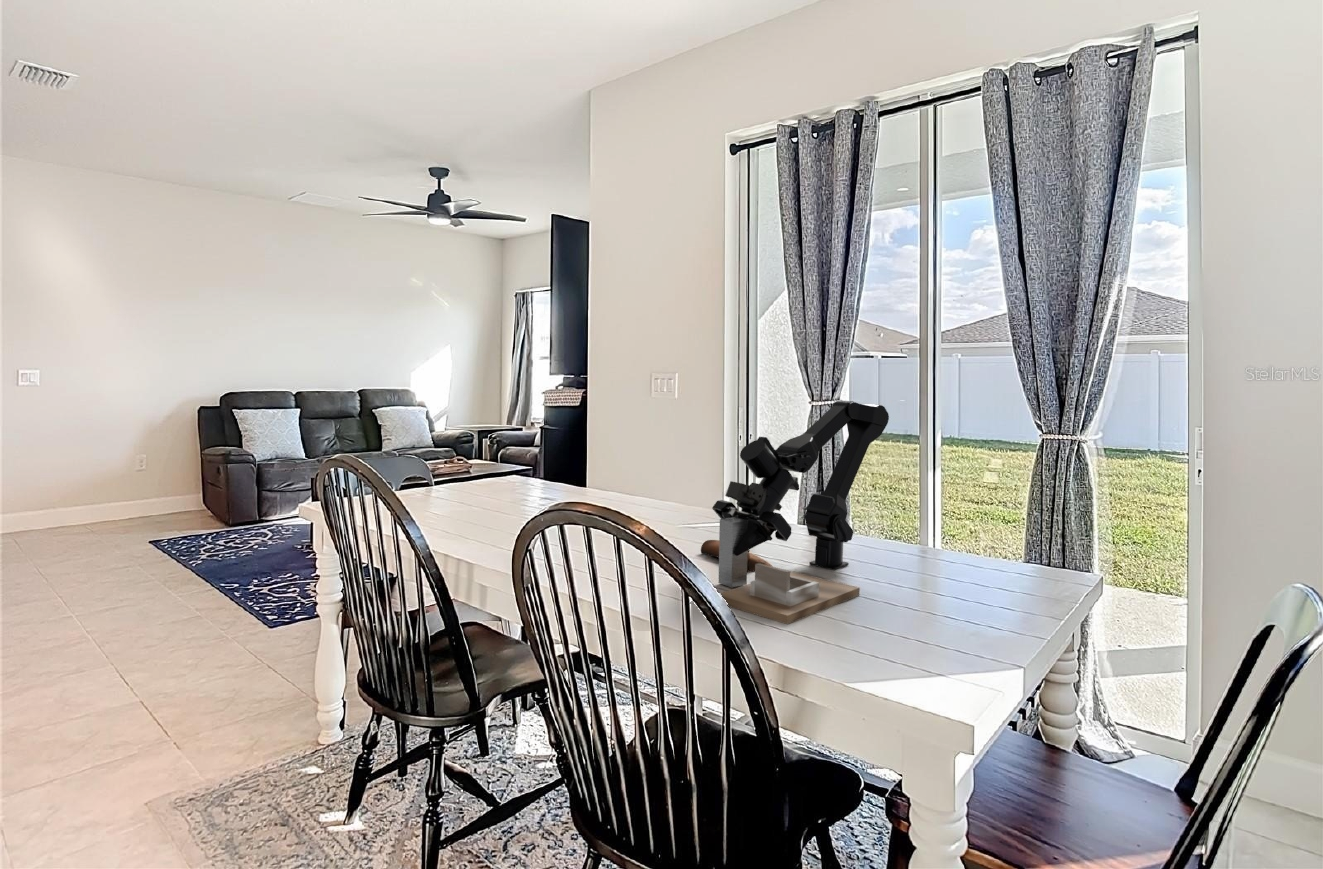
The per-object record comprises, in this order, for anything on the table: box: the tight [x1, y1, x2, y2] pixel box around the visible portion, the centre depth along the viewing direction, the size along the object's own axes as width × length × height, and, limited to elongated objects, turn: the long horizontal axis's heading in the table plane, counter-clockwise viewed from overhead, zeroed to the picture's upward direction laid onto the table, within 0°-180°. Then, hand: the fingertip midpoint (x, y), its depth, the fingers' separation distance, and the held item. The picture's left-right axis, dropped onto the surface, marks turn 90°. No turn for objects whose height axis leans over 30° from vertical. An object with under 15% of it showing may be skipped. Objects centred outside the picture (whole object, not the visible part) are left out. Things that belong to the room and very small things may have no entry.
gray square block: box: [718, 517, 748, 589], centre depth 144 cm, size 4×4×13 cm
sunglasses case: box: [700, 539, 774, 573], centre depth 164 cm, size 18×7×7 cm
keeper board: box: [720, 563, 861, 625], centre depth 136 cm, size 24×16×8 cm, turn 135°
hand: (727, 552), depth 143 cm, fingers closed on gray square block, 4 cm apart
